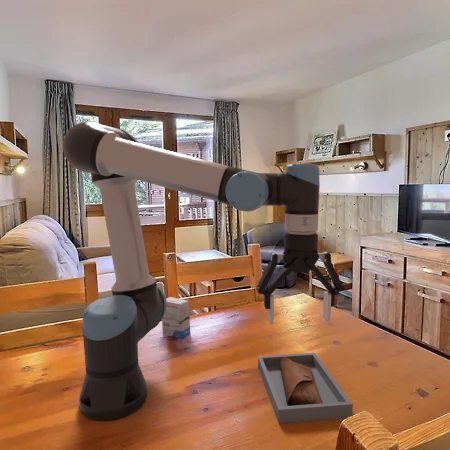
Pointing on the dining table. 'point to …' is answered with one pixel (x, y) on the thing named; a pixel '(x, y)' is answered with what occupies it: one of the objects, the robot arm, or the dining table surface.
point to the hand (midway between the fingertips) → (298, 320)
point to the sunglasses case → (298, 383)
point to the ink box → (176, 318)
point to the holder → (326, 385)
